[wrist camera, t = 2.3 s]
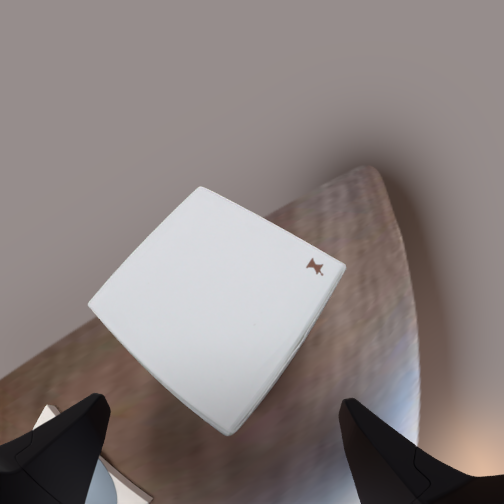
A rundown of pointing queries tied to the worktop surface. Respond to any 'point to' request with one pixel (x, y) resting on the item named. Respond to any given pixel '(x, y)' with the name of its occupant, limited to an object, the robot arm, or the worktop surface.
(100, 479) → the white board
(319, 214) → the worktop surface
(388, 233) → the worktop surface
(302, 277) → the supplement box
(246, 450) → the worktop surface
